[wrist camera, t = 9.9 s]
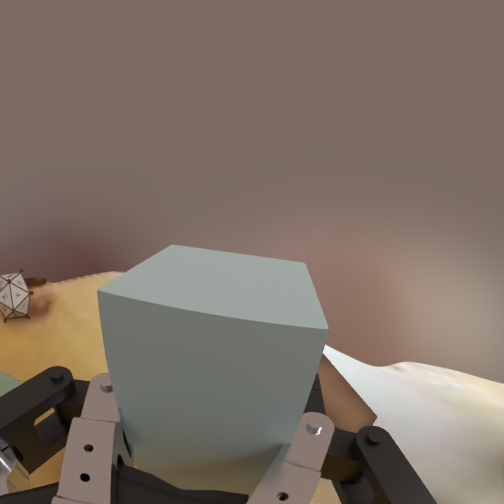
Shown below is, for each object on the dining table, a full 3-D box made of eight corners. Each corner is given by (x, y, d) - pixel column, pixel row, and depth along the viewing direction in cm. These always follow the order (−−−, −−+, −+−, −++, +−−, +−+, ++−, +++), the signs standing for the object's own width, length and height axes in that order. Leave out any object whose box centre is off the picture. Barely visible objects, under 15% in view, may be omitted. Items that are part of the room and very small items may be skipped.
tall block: (260, 456, 13) (304, 262, 10) (253, 525, 8) (329, 329, 5) (177, 441, 13) (172, 244, 10) (152, 505, 8) (97, 290, 5)
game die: (26, 340, 32) (17, 314, 26) (-11, 319, 29) (-23, 289, 23) (43, 299, 39) (41, 268, 33) (9, 280, 35) (3, 247, 30)
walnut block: (313, 383, 33) (323, 353, 32) (359, 446, 22) (377, 416, 21) (223, 392, 30) (227, 360, 28) (249, 474, 18) (258, 446, 17)
